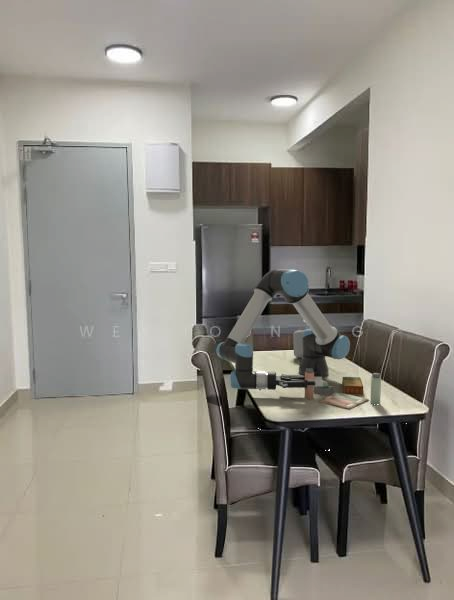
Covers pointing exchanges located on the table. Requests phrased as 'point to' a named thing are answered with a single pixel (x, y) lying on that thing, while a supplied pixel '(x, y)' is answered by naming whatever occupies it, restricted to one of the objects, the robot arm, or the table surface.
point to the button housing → (323, 390)
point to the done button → (324, 385)
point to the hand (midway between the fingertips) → (322, 381)
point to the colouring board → (343, 400)
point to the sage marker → (375, 388)
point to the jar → (298, 341)
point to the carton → (352, 385)
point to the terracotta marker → (310, 389)
